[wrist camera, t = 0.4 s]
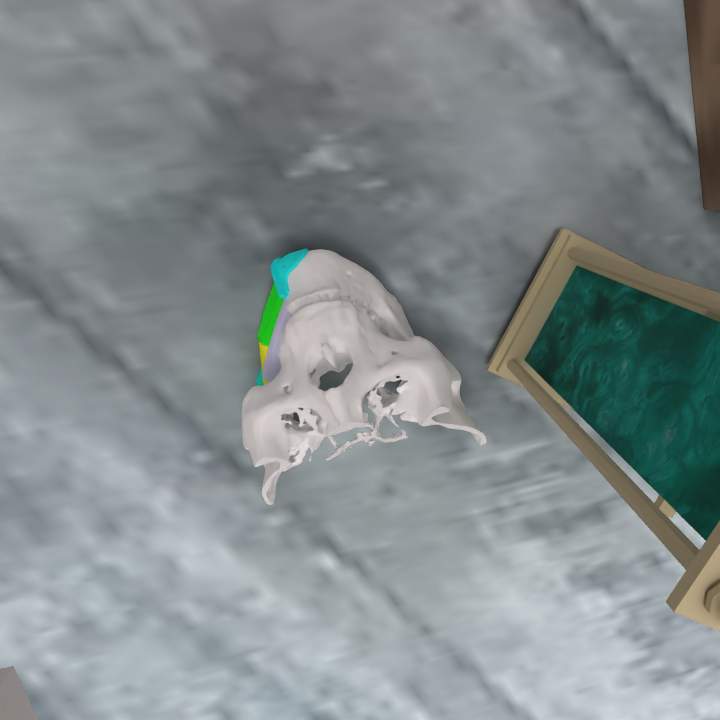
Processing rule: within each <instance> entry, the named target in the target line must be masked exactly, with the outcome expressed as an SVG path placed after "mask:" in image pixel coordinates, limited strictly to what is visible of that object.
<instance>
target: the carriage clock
mask: <svg viewBox="0 0 720 720" xmlns="http://www.w3.org/2000/svg"><path fill="white" fill-rule="evenodd" d="M486 369H487V371H490V372H492V373H494V374H496V375H498V376H501V377H503V378H505V379H507V380H509V381H512V382H514V383H516V384H518V385H520V386H523V387H525V388H526V389H527V390H528V391H529V393H530V394H531V395H532V396H533V397H534V398H535V399H536V401H537V402H538V403H539V404H540V405H541V406H542V407H543V408H544V410H545V411H546V412H547V413H548V414H549V415H550V416H551V418H552V419H553V420H554V421H555V422H556V423H557V424H558V425H559V427H560V428H561V429H562V430H563V431H564V432H565V433H566V434H567V436H568V437H569V438H570V439H571V440H572V441H573V442H574V444H575V445H576V446H577V447H578V448H579V449H580V450H581V451H582V453H583V454H584V455H585V456H586V457H587V458H588V459H589V461H590V462H591V463H592V464H593V465H594V466H595V467H596V468H597V470H598V471H599V472H600V473H601V474H602V475H603V476H604V477H605V479H606V480H607V481H608V482H609V483H610V484H611V485H612V487H613V488H614V489H615V490H616V491H617V492H618V493H619V494H620V496H621V497H622V498H623V499H624V500H625V501H626V502H627V504H628V505H629V506H630V507H631V508H632V509H633V510H634V511H635V513H636V514H637V515H638V516H639V517H640V518H641V519H642V521H643V522H644V523H645V524H646V525H647V526H648V527H649V528H650V530H651V531H652V532H653V533H654V534H655V535H656V536H657V537H658V539H659V540H660V541H661V542H662V543H663V544H664V545H665V547H666V548H667V549H668V550H669V551H670V552H671V553H672V554H673V556H674V557H675V558H676V559H677V560H678V561H679V562H680V564H681V565H682V566H683V567H684V568H685V569H686V572H685V573H684V575H683V576H682V578H681V579H680V581H679V582H678V584H677V585H676V587H675V588H674V590H673V591H672V593H671V594H670V596H669V597H668V599H667V600H666V602H667V604H668V605H669V606H670V608H671V609H672V610H673V612H675V613H678V614H680V615H682V616H685V617H687V618H690V619H692V620H694V621H697V622H699V623H702V624H704V625H707V626H709V627H711V628H714V629H716V630H719V631H720V293H719V292H716V291H713V290H709V289H706V288H703V287H700V286H697V285H694V284H691V283H687V282H684V281H681V280H678V279H675V278H672V277H669V276H666V275H662V274H659V273H656V272H653V271H650V270H647V269H645V268H643V267H641V266H639V265H637V264H635V263H633V262H631V261H629V260H627V259H625V258H623V257H621V256H619V255H617V254H615V253H613V252H611V251H609V250H607V249H605V248H603V247H601V246H599V245H597V244H595V243H593V242H591V241H589V240H587V239H585V238H583V237H581V236H579V235H577V234H575V233H573V232H571V231H569V230H567V229H565V228H562V227H561V229H560V231H559V233H558V235H557V236H556V238H555V240H554V242H553V244H552V246H551V248H550V250H549V251H548V253H547V255H546V257H545V259H544V261H543V263H542V264H541V266H540V268H539V270H538V272H537V274H536V276H535V278H534V279H533V281H532V283H531V285H530V287H529V289H528V291H527V292H526V294H525V296H524V298H523V300H522V302H521V304H520V305H519V307H518V309H517V311H516V313H515V315H514V317H513V319H512V320H511V322H510V324H509V326H508V328H507V330H506V332H505V333H504V335H503V337H502V339H501V341H500V343H499V345H498V347H497V348H496V350H495V352H494V354H493V356H492V358H491V360H490V361H489V363H488V365H487V367H486ZM557 402H558V403H560V404H562V405H564V406H567V407H569V408H571V409H573V410H575V411H576V412H577V413H578V414H579V415H580V416H581V417H582V418H583V419H584V420H585V421H586V422H587V423H588V424H589V425H590V426H591V427H592V428H593V429H594V430H595V431H596V432H597V433H598V434H599V435H600V436H601V437H602V438H603V439H604V440H605V441H606V442H607V443H608V444H609V445H610V446H611V447H612V448H613V449H614V450H615V451H616V452H617V453H618V454H619V455H620V456H621V457H622V458H623V459H624V460H625V461H626V462H627V463H628V464H629V465H630V466H631V467H632V468H633V469H634V470H635V471H636V472H637V473H638V474H639V475H640V476H641V477H642V478H643V479H644V480H645V481H646V482H647V483H648V484H649V485H650V486H651V487H652V488H653V489H654V490H655V491H656V492H657V493H658V494H659V497H658V498H657V500H656V502H655V503H653V502H652V501H651V500H650V499H649V497H648V496H647V495H646V494H645V493H644V492H643V491H642V490H641V489H640V488H639V487H638V486H637V485H636V484H635V483H634V482H633V481H632V480H631V479H630V478H629V477H628V476H627V475H626V474H625V473H624V472H623V471H622V469H621V468H620V467H619V466H618V465H617V464H616V463H615V462H614V461H613V460H612V459H611V458H610V457H609V456H608V455H607V454H606V453H605V452H604V451H603V450H602V449H601V448H600V447H599V446H598V445H597V444H596V442H595V441H594V440H593V439H592V438H591V437H590V436H589V435H588V434H587V433H586V432H585V431H584V430H583V429H582V428H581V427H580V426H579V425H578V424H577V423H576V422H575V421H574V420H573V419H572V418H571V417H570V415H569V414H568V413H567V412H566V411H565V410H564V409H563V408H562V407H561V406H560V405H559V404H558V403H557ZM675 512H677V513H678V514H679V515H680V516H681V517H682V518H683V519H684V520H685V521H686V522H687V523H688V524H689V525H690V526H692V527H693V528H694V529H695V530H696V531H697V532H698V533H699V534H700V535H701V536H702V537H703V538H704V539H705V540H706V542H705V543H704V545H703V546H702V548H701V549H700V550H699V549H698V548H697V547H696V546H695V545H694V544H693V543H692V542H691V541H690V540H689V539H688V538H687V537H686V536H685V535H684V534H683V533H682V532H681V531H680V530H679V529H678V528H677V527H676V526H675V524H674V523H673V522H672V521H671V520H670V519H669V518H668V517H673V515H674V514H675Z"/></svg>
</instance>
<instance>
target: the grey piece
mask: <svg viewBox="0 0 720 720" xmlns="http://www.w3.org/2000/svg"><path fill="white" fill-rule="evenodd" d="M270 268H271V274H272V277H273V280H274V284H273V287H272V290H271V293H270V295H269V298H268V301H267V303H266V306H265V309H264V313H263V317H262V321H261V325H260V328H259V332H258V336H257V339H258V340H259V348H260V357H261V366H262V367H261V369H260V372H259V374H258V377H257V382H256V386H254V387H252V388H251V389H250V390H249V391H248V392H247V394H246V395H245V397H244V399H243V403H242V412H241V414H242V430H243V433H242V440H243V445H244V447H245V448H246V450H249V451H250V454H251V456H252V461H253V464H254V466H255V467H258V466H261V465H264V467H265V476H264V481H263V488H262V495H263V498H264V500H265V501H266V503H267V504H269V505H272V504H274V497H275V488H276V483H277V480H278V477H279V475H280V474H281V472H282V471H286V470H288V469H290V468H292V467H294V466H296V465H300V464H301V463H302V460H303V457H304V456H305V454H306V451H307V449H308V447H309V448H310V449H311V451H312V452H313V451H314V450H316V449H317V448H318V447H319V445H320V443H321V441H322V440H323V439H324V438H325V436H327V437H328V438H329V439H330V440H331V442H332V444H333V446H334V447H335V451H334V453H333V454H332V456H330V457H328V458H327V459H326V460H330V459H332V458H334V457H336V456H337V455H338V454H340V452H341V451H343V452H345V449H346V448H350V449H351V448H352V447H349V446H350V445H352V444H354V443H355V442H358V441H362V440H364V441H365V442H366V443H369V446H370V445H372V444H373V442H374V441H376V440H374V438H375V439H377V441H378V440H382V442H383V443H385V442H394V441H398V440H401V439H405V438H408V436H405V435H406V431H404V430H403V429H401V431H402V435H401V434H397V433H394V432H392V434H393V437H388V438H385V437H382V435H381V434H380V433H379V423H380V422H381V420H382V419H383V417H384V416H386V417H387V418H388V419H389V420H390V421H391V422H392V423H393V424H394V425H395V426H396V427H399V426H398V425H397V424H396V422H395V420H394V419H393V417H392V415H394V414H395V415H397V414H401V413H402V414H401V416H400V417H401V420H408V421H410V422H418V424H420V425H421V426H429V425H441V426H444V427H447V428H450V429H461V430H465V431H469V432H471V433H472V434H473V436H474V438H475V439H476V441H477V442H478V444H479V445H483V444H486V437H485V435H484V434H483V432H482V430H481V429H480V427H479V426H478V425H477V423H476V422H475V421H474V420H473V419H472V418H471V417H470V416H469V415H468V412H467V409H466V407H465V406H464V404H463V403H462V400H461V397H460V393H459V391H460V385H461V381H462V379H461V376H460V374H459V372H458V371H457V370H456V368H455V367H454V366H453V365H452V364H451V363H450V362H449V361H448V360H447V359H446V358H445V357H444V356H443V355H442V353H441V352H440V351H439V350H438V348H437V347H435V346H434V345H433V344H432V343H431V342H430V341H429V340H427V339H425V338H423V337H420V336H414V333H413V331H412V329H411V327H410V325H409V322H408V320H407V318H406V316H405V314H404V312H403V309H402V306H401V304H399V303H398V302H397V299H396V298H395V297H394V296H393V295H392V294H390V293H389V292H388V291H387V290H386V289H385V288H384V286H383V285H382V284H381V283H380V282H379V280H378V279H377V278H375V277H374V276H373V275H372V274H371V273H370V272H368V271H367V270H365V269H364V268H362V267H361V266H359V265H358V264H356V263H354V262H352V261H350V260H347V259H345V258H343V257H342V256H340V255H338V254H337V253H335V252H333V251H329V250H323V249H317V250H311V251H309V250H308V249H302V250H299V251H295V252H292V253H288V254H287V255H285V256H284V257H283V258H276V259H275V260H274V261H273V262H272V264H271V267H270ZM382 333H383V334H382ZM385 335H386V336H385ZM347 364H353V365H352V369H351V371H350V373H349V374H348V376H347V377H346V379H345V380H344V382H343V384H342V385H340V386H339V387H337V388H330V389H329V390H327V391H323V390H320V388H319V385H320V377H321V376H322V375H323V374H325V373H327V372H328V371H335V372H338V373H340V372H341V371H343V370H344V368H345V366H346V365H347ZM396 376H400V378H396ZM397 380H401V382H400V384H399V387H397V392H398V393H397V394H396V393H392V392H390V391H388V390H387V389H385V388H384V385H385V383H386V382H388V381H392V382H395V381H397ZM375 388H376V389H375ZM374 389H375V390H374ZM377 389H378V390H379V391H380V393H381V395H380V396H378V395H377V394H376V392H377ZM367 392H369V395H368V396H367V400H368V404H369V405H368V407H369V408H370V409H371V410H372V412H373V413H374V416H375V418H376V424H375V426H374V427H373V423H372V422H371V423H369V422H368V414H367V413H366V412H363V410H362V401H363V397H364V396H365V394H366V393H367ZM288 393H289V394H288ZM390 394H392V395H390ZM299 408H303V410H301V409H299ZM391 409H393V412H392V415H391ZM311 410H312V414H310V412H311ZM294 412H297V414H298V416H299V420H300V422H297V421H295V420H294V419H293V413H294ZM287 414H288V418H287ZM304 419H305V420H304ZM305 421H306V422H307V423H303V422H305ZM355 427H370V428H371V429H372V432H370V433H366V432H360V433H357V436H358V438H357V439H356V440H352V441H347V442H346V443H345V444H344V445H342V446H340V447H338V448H337V442H336V441H335V440H334V438H333V437H332V436H335V435H336V434H338V433H340V432H346V431H350V430H351V429H352V428H355ZM377 431H378V433H377ZM331 435H332V436H331ZM368 440H371V442H368ZM309 461H312V453H311V456H310V458H309Z"/></svg>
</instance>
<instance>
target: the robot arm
mask: <svg viewBox="0 0 720 720" xmlns="http://www.w3.org/2000/svg"><path fill="white" fill-rule="evenodd" d="M0 720H37V717H36V715H35V713H34V711H33V708H32V706H31V704H30V702H29V699H28V697H27V695H26V693H25V690H24V688H23V686H22V684H21V681H20V679H19V677H18V675H17V672H16V670H15V668H14V666H11V667H7V668H2V669H0Z"/></svg>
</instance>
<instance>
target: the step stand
mask: <svg viewBox="0 0 720 720" xmlns="http://www.w3.org/2000/svg"><path fill="white" fill-rule="evenodd" d="M684 6H685V16H686V27H687V37H688V48H689V58H690V68H691V79H692V89H693V100H694V110H695V121H696V131H697V141H698V152H699V162H700V173H701V183H702V194H703V204H704V209H707V210H716V211H720V0H684Z"/></svg>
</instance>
